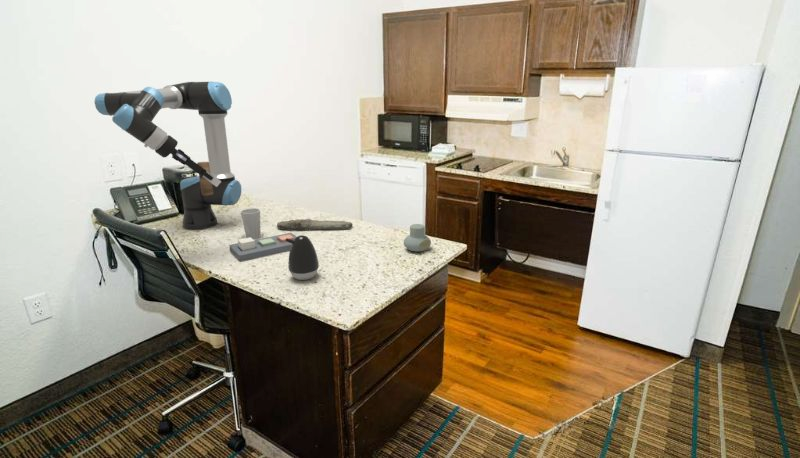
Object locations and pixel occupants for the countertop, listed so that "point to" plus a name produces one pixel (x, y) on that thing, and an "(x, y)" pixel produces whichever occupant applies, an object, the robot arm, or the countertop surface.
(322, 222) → the long grey stone
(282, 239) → the key far
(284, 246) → the keypad
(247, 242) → the key near
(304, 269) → the black rounded cone
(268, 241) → the key mid
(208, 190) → the wooden pepper mill
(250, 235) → the cup
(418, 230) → the air freshener
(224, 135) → the robot arm
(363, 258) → the countertop surface
